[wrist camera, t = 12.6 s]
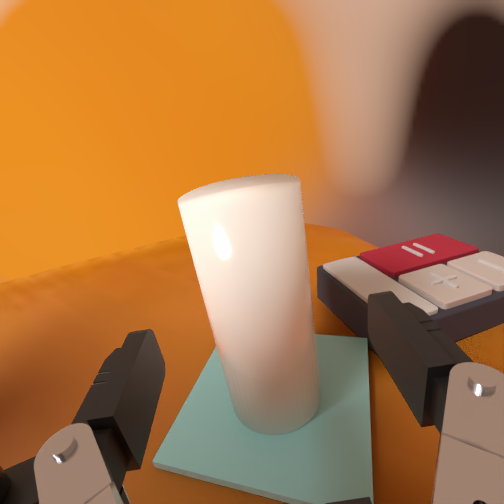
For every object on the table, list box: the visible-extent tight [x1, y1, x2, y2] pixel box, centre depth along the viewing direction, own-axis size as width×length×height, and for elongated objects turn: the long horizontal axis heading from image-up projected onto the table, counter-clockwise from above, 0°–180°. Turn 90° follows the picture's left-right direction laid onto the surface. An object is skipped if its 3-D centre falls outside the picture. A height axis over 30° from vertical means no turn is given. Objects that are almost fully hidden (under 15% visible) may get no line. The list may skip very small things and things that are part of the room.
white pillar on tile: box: [178, 174, 321, 435], centre depth 19 cm, size 8×6×14 cm
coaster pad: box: [152, 334, 374, 504], centre depth 21 cm, size 12×12×1 cm
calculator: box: [317, 234, 504, 356], centre depth 28 cm, size 11×4×15 cm
